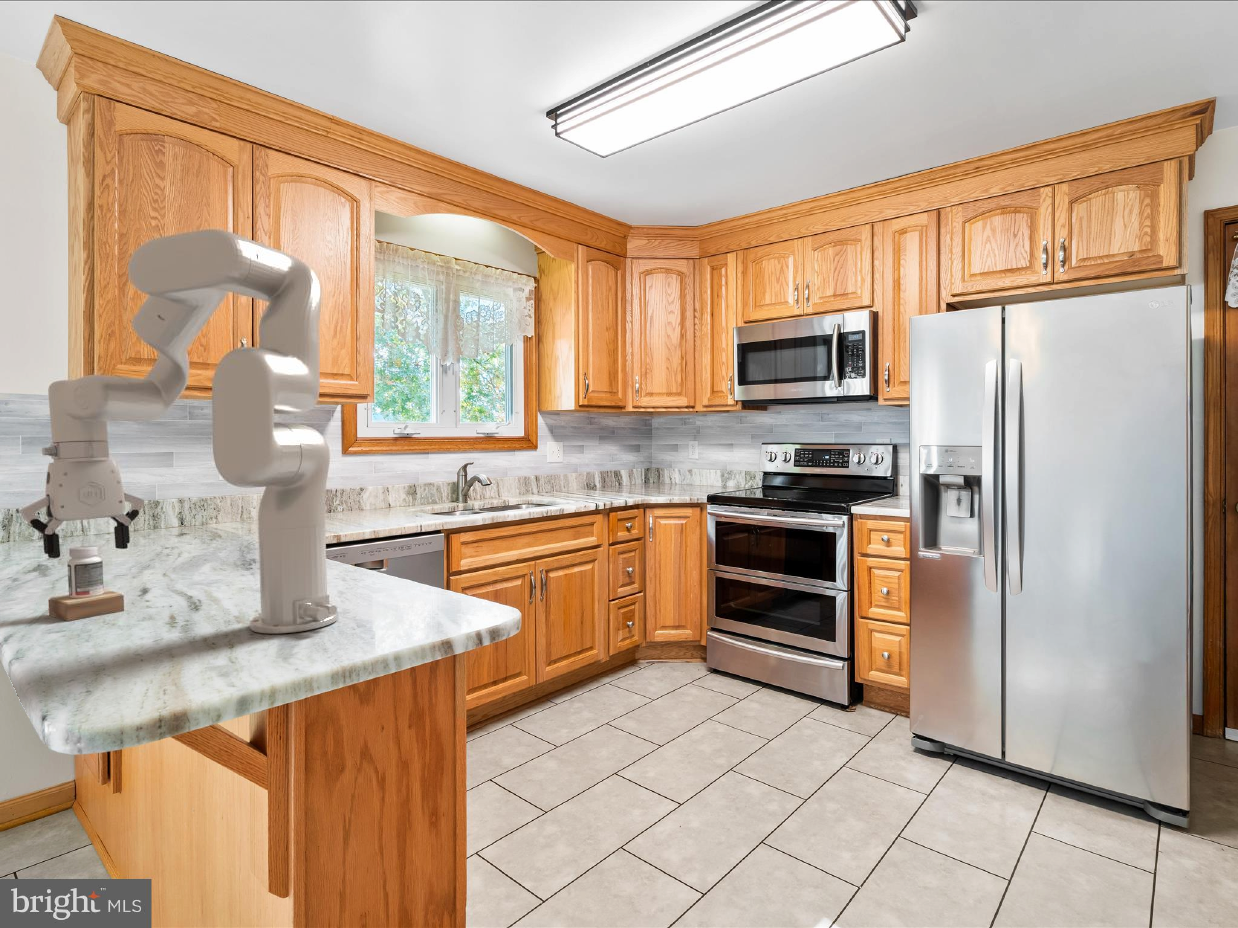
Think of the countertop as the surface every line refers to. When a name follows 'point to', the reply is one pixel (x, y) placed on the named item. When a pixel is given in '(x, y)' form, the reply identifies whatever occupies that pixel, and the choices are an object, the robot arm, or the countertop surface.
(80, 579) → the pill bottle
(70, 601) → the walnut stand
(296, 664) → the countertop surface
